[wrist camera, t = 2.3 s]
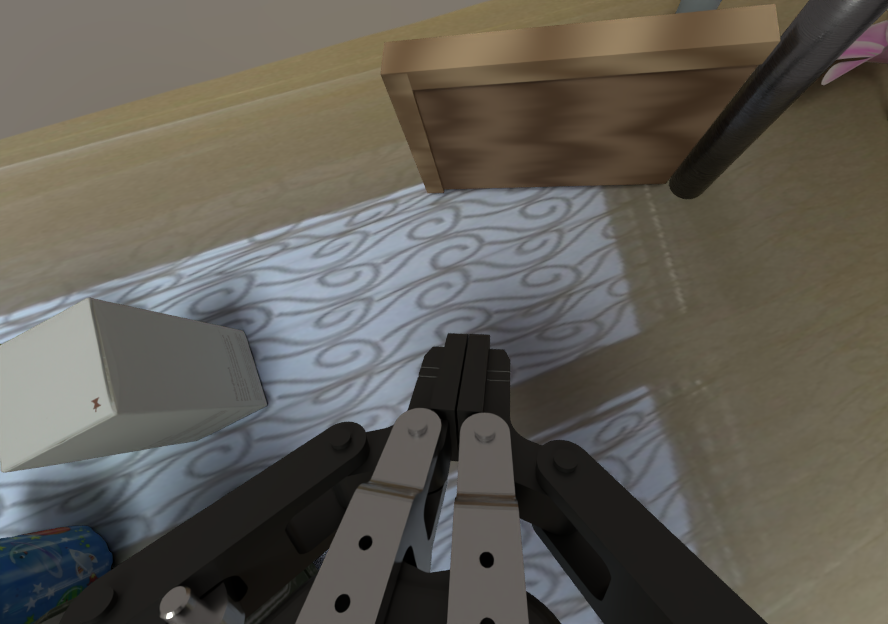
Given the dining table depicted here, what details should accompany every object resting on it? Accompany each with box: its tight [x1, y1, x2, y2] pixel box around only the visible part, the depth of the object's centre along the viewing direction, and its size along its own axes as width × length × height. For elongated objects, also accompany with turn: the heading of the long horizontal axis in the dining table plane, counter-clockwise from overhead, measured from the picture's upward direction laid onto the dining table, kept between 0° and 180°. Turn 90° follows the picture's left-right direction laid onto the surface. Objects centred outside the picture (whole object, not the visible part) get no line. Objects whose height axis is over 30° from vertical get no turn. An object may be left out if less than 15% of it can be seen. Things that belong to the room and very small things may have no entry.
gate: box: [381, 4, 780, 193], centre depth 24 cm, size 18×2×12 cm, turn 86°
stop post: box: [675, 0, 722, 14], centre depth 26 cm, size 3×3×11 cm
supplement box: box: [0, 298, 267, 472], centre depth 26 cm, size 7×7×13 cm
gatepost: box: [669, 0, 888, 199], centre depth 21 cm, size 3×3×16 cm
